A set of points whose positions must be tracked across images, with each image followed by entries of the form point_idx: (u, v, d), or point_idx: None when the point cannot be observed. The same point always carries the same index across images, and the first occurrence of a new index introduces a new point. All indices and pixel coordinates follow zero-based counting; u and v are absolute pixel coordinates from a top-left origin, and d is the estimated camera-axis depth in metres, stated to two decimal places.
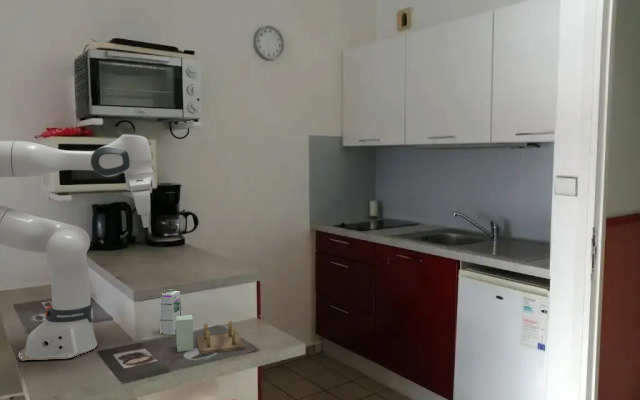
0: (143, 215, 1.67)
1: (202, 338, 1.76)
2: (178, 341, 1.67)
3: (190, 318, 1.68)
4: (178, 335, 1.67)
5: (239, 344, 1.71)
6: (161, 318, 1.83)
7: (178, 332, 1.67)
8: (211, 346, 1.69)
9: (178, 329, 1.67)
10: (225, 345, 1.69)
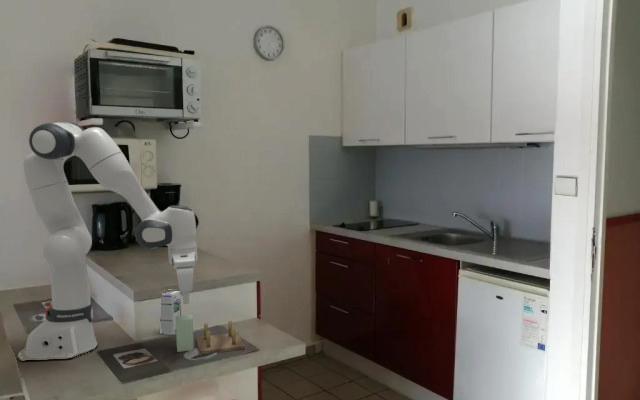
0: (184, 292, 1.62)
1: (202, 338, 1.76)
2: (178, 341, 1.67)
3: (190, 318, 1.68)
4: (178, 335, 1.67)
5: (239, 344, 1.71)
6: (161, 318, 1.83)
7: (178, 332, 1.67)
8: (211, 346, 1.69)
9: (178, 329, 1.67)
10: (225, 345, 1.69)
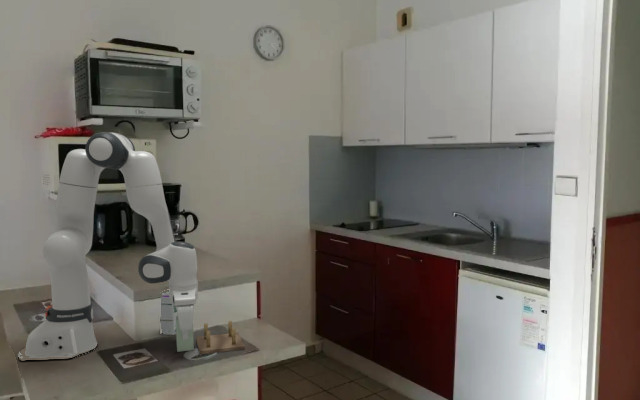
0: None
1: (202, 338, 1.76)
2: (178, 341, 1.67)
3: None
4: (178, 335, 1.67)
5: (239, 344, 1.71)
6: (161, 318, 1.83)
7: (178, 332, 1.67)
8: (211, 346, 1.69)
9: (178, 329, 1.67)
10: (225, 345, 1.69)
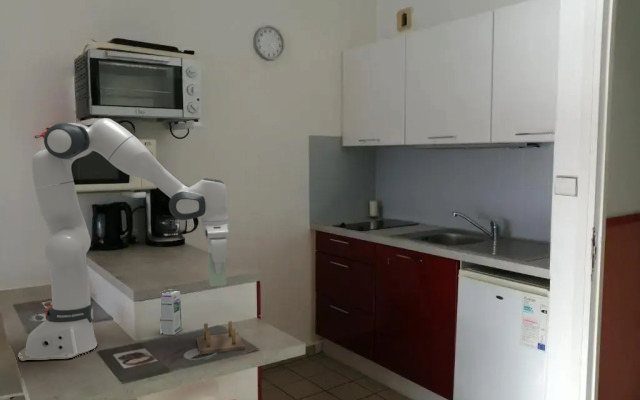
0: None
1: (202, 338, 1.76)
2: (211, 276, 1.68)
3: None
4: (211, 270, 1.68)
5: (239, 344, 1.71)
6: (161, 318, 1.83)
7: (211, 267, 1.68)
8: (211, 346, 1.69)
9: (211, 264, 1.68)
10: (225, 345, 1.69)
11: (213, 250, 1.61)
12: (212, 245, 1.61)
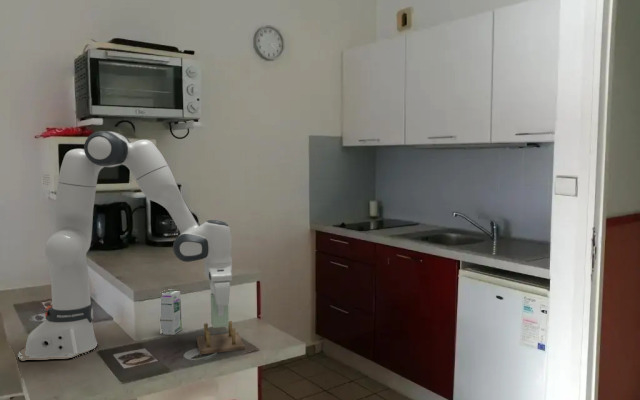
0: None
1: (202, 338, 1.76)
2: (214, 317, 1.70)
3: None
4: (214, 311, 1.70)
5: (239, 344, 1.71)
6: (161, 318, 1.83)
7: (214, 308, 1.70)
8: (211, 346, 1.69)
9: (214, 305, 1.69)
10: (225, 345, 1.69)
11: (216, 294, 1.62)
12: (215, 289, 1.62)
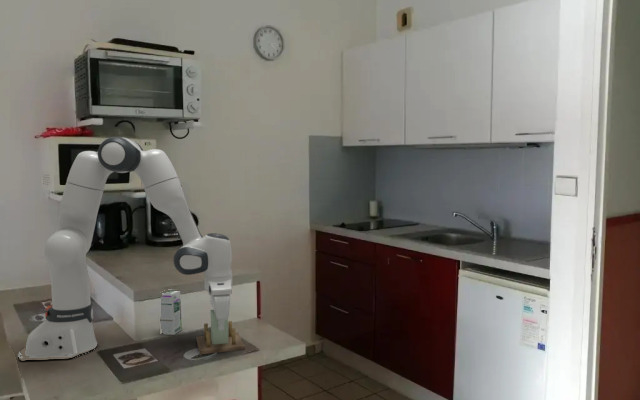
0: None
1: (202, 338, 1.76)
2: (213, 334, 1.70)
3: None
4: (213, 328, 1.70)
5: (239, 344, 1.71)
6: (161, 318, 1.83)
7: (213, 325, 1.70)
8: (211, 346, 1.69)
9: (213, 322, 1.70)
10: (225, 345, 1.69)
11: (216, 307, 1.62)
12: (215, 302, 1.63)
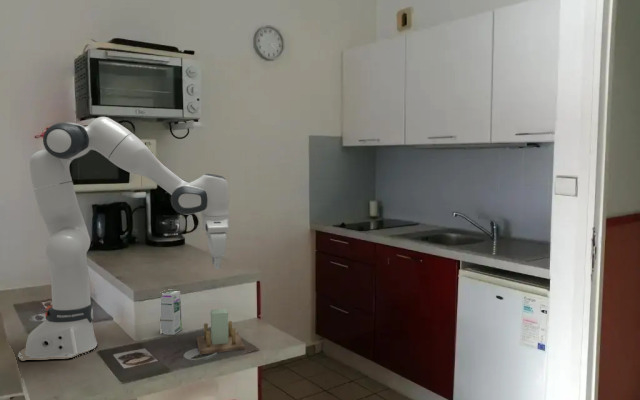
0: (216, 257, 1.67)
1: (202, 338, 1.76)
2: (213, 334, 1.70)
3: (225, 312, 1.72)
4: (213, 328, 1.70)
5: (239, 344, 1.71)
6: (161, 318, 1.83)
7: (213, 325, 1.70)
8: (211, 346, 1.69)
9: (213, 322, 1.70)
10: (225, 345, 1.69)
11: (213, 244, 1.63)
12: (212, 239, 1.63)
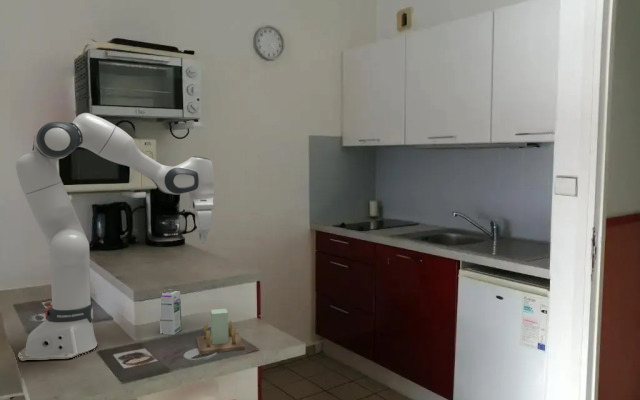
0: (203, 232, 1.83)
1: (202, 338, 1.76)
2: (213, 334, 1.70)
3: (225, 312, 1.72)
4: (213, 328, 1.70)
5: (239, 344, 1.71)
6: (161, 318, 1.83)
7: (213, 325, 1.70)
8: (211, 346, 1.69)
9: (213, 322, 1.70)
10: (225, 345, 1.69)
11: (199, 220, 1.79)
12: (198, 215, 1.79)
